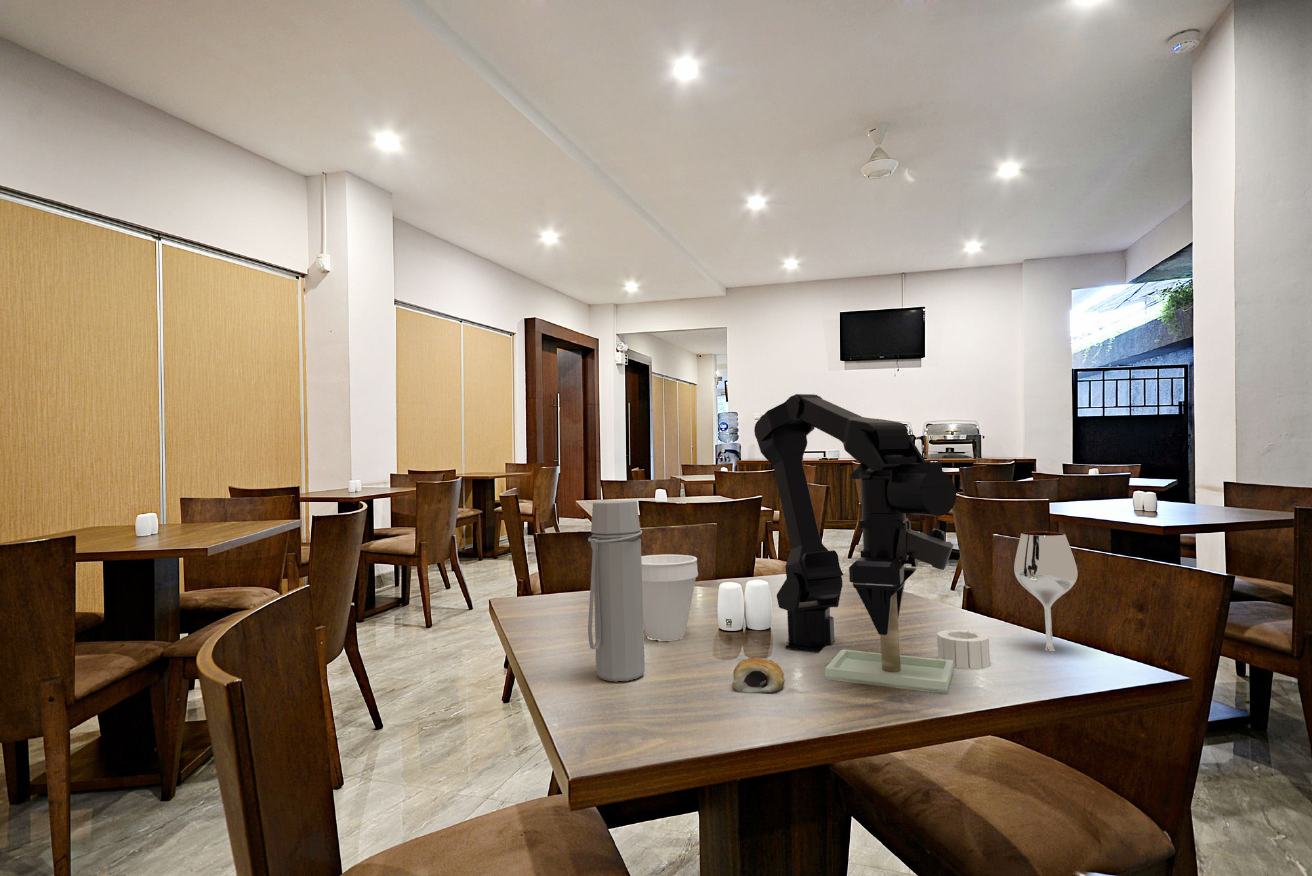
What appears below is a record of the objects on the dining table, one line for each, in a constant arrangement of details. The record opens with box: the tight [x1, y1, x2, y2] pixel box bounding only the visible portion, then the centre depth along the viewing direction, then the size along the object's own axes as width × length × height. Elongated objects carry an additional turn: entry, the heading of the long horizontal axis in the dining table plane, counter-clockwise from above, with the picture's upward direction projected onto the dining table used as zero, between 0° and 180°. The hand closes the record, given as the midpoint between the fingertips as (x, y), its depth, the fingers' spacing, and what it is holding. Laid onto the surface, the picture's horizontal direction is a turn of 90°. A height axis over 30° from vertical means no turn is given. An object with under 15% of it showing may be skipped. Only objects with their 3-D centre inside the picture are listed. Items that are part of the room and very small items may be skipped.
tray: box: [824, 648, 955, 695], centre depth 89 cm, size 15×10×2 cm, turn 62°
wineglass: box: [1013, 531, 1079, 652], centre depth 98 cm, size 8×8×18 cm
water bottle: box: [587, 500, 646, 683], centre depth 95 cm, size 9×8×25 cm
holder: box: [936, 629, 991, 670], centre depth 94 cm, size 7×7×4 cm
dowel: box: [879, 593, 901, 672], centre depth 90 cm, size 2×2×11 cm
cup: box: [641, 554, 699, 640], centre depth 117 cm, size 12×12×14 cm
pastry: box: [732, 656, 786, 694], centre depth 90 cm, size 9×7×4 cm
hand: (888, 626), depth 90 cm, fingers open, 9 cm apart
